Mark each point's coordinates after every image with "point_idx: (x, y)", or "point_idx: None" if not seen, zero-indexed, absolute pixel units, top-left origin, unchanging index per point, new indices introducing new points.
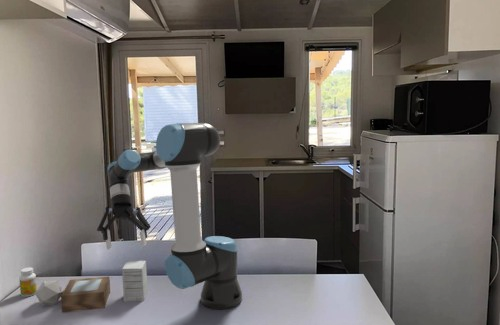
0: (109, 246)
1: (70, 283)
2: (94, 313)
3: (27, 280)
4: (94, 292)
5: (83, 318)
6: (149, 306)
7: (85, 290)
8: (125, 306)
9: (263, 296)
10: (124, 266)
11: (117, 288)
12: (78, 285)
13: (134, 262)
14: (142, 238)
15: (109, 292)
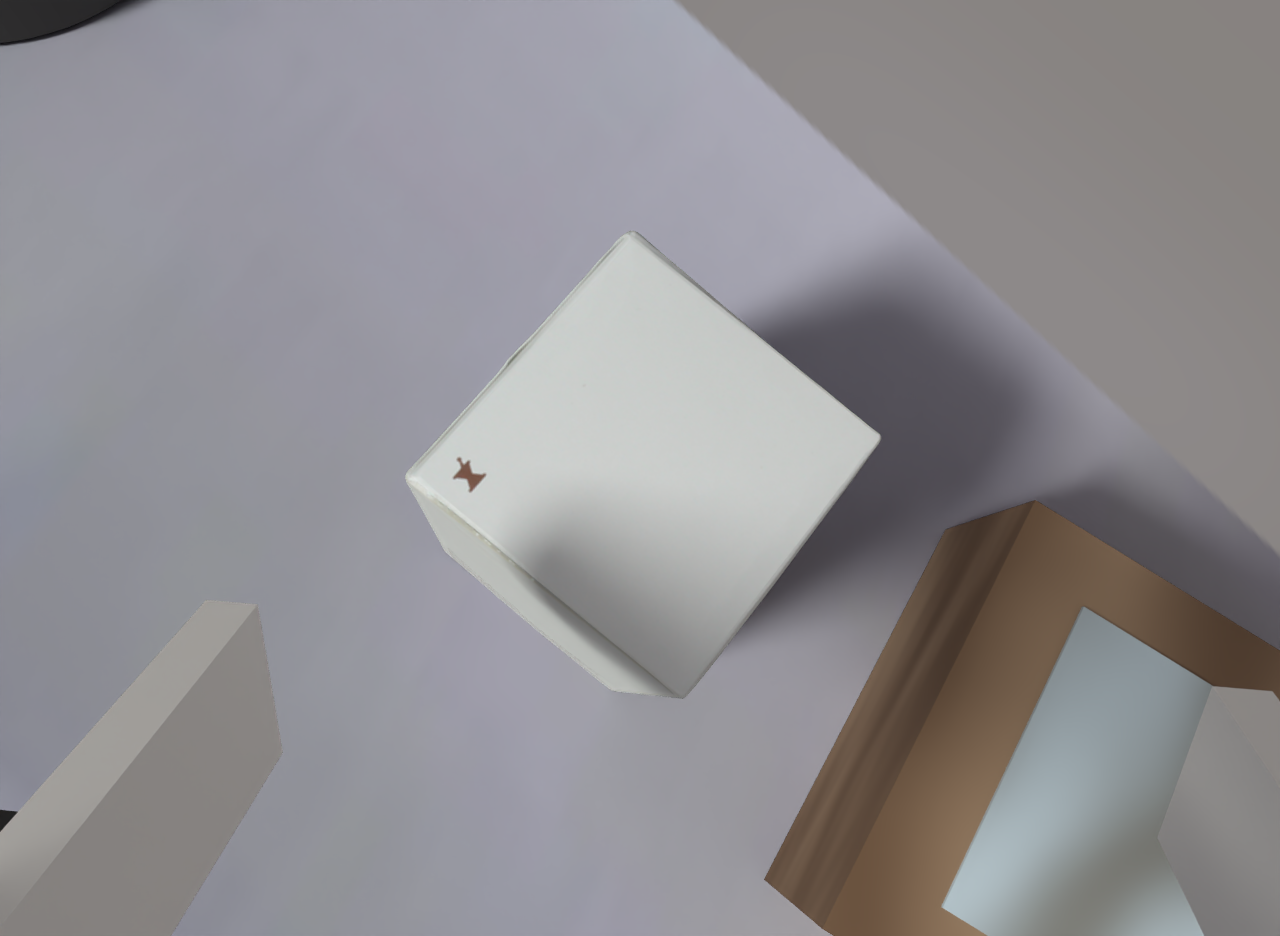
0: (1268, 691)
1: None
2: (1054, 500)
3: None
4: (1127, 566)
5: (1156, 483)
6: (599, 247)
7: (1202, 692)
8: None
9: None
10: (816, 498)
11: (666, 896)
12: None
13: (608, 534)
14: (146, 840)
15: (796, 825)
